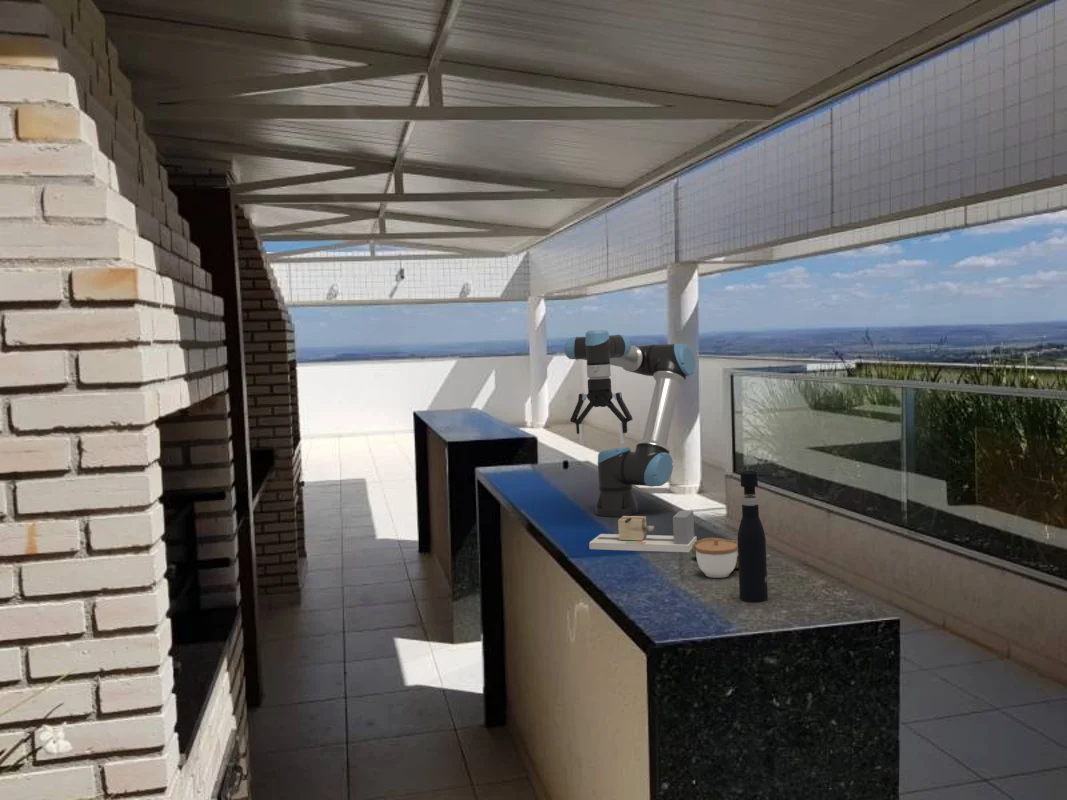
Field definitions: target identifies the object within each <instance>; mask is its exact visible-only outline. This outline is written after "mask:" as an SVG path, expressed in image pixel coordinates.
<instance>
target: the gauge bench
mask: <svg viewBox="0 0 1067 800" xmlns="http://www.w3.org/2000/svg"><path fill="white" fill-rule="evenodd" d="M694 522H695V521H694V510H679V511H678V512H677V513H675V514H674V516H672V527H673V528H672V529H673V535H659V534H658V535H657V534H656V535H655V534H647V536H646V537H645V538H644V539H643V540H619V533H617V534H616V533H612V534H611V533H599V534H598V535H597V536H596V537H595V538H593V539H592V540H590V542H589V543H588V544H589V545H588V546H589V548H588V549H589V550H605V551H609V550H610V551H631V552H632V551H635V552H637V551H638V552H662V553H663V552H667V553H669V552H670V553H690V552H692V546H693V544H694V542H696V541H698V538H697V536H696V535H695V523H694Z"/></svg>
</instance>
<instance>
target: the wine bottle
mask: <svg viewBox="0 0 1067 800" xmlns="http://www.w3.org/2000/svg"><path fill="white" fill-rule="evenodd" d="M758 479H759V478H758V471H755V470H754V471H753V470H747V471H746V470H745V471H741V472H740V487H742V488H743V495H744V496H743V497H742V500H743V501H742V503H743V504H742V505H741V514H742V515H741V516H742V517H741V520H740V523H739V527H738V531H737V532H738V533H737V537H736V538H737V541H738V565H739V569H738V585H739V599H740V600H741V601H743V602H745V603H746V602H747V603H762V602H765V601H768V599H769V593H768V570H767V568H768V567H767V546H766V545H767V544H766V543H767V542H766V534H765V530H764V526H763V523H762V521H761V518H760V516H759V514H760V512H759V505H758V498H757V496H755V495H756V487H758V486H759V481H758Z"/></svg>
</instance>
